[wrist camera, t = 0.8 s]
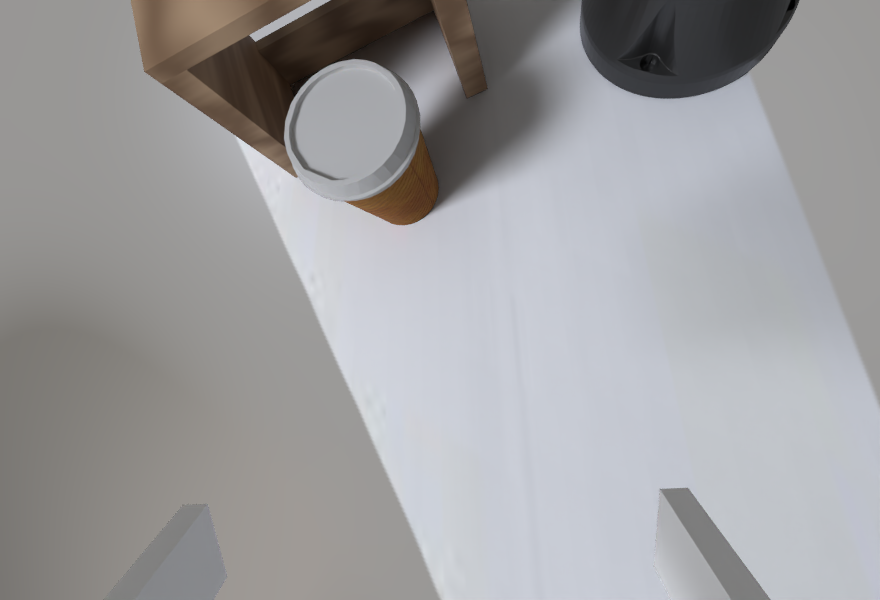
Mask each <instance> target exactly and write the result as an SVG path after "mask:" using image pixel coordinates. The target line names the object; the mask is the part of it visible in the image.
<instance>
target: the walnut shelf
mask: <svg viewBox="0 0 880 600" xmlns="http://www.w3.org/2000/svg"><path fill="white" fill-rule="evenodd" d="M309 1H311V0H131V4H132V9H133V14H134V20H135V25H136V30H137V35H138V41H139V46H140V51H141V56H142V62H143V67H144V72H146V73H147V74H148V75H150V76H151V77H153V78H154V79H156V80H157V81H158V82H160V83H161V84H163V85H164V86H165V87H167V88H168V89H170V90H171V91H173V92H174V93H176V94H177V95H178V96H180V97H181V98H183V99H184V100H186V101H187V102H188V103H190V104H191V105H193V106H194V107H196V108H197V109H198V110H200V111H201V112H203V113H204V114H206V115H207V116H209V117H210V118H211V119H213V120H214V121H216V122H217V123H219V124H220V125H221V126H223V127H224V128H226V129H227V130H228V131H230V132H231V133H233V134H234V135H236V136H237V137H238V138H240V139H241V140H243V141H244V142H246V143H247V144H248V145H250V146H251V147H253V148H254V149H256V150H257V151H258V152H260V153H261V154H263V155H264V156H266V157H267V158H268V159H270V160H271V161H273V162H274V163H276V164H277V165H279V166H280V167H281V168H283V169H284V170H286V171H287V172H289V173H290V174H291V175H293V176H294V177H296V178H297V177H298V176H297V174H296V172H295V170H294V168H293V166H292V163H291V160H290V158H289V156H288V154H287V151H286V146H285V141H284V132H285V120H286V117H287V114H288V111H289V108H290V105H291V103H292V101H293V99H294V96H293V93H292V89H291V84H293V83H294V82H296V81H298V80H300V79H302V78H304V77H306V76H308V75H310V74H312V73H314V72H316V71H318V70H320V69H322V68H323V67H325V66H327V65H329V64H331V63H333V62H335V61H337V60H339V59H341V58H343V57H345V56H347V55H349V54H350V53H352V52H354V51H356V50H358V49H360V48H362V47H364V46H366V45H368V44H370V43H372V42H374V41H376V40H377V39H379V38H381V37H383V36H385V35H387V34H389V33H391V32H393V31H395V30H397V29H399V28H401V27H403V26H404V25H406V24H408V23H410V22H412V21H414V20H416V19H418V18H420V17H422V16H424V15H426V14H428V13H430V12H432V11H433V10H434V12H435V15H436V18H437V20H438V23H439V26H440V28H441V31H442V34H443V36H444V39H445V42H446V44H447V47H448V50H449V52H450V55H451V58H452V60H453V63H454V66H455V68H456V71H457V74H458V76H459V79H460V82H461V84H462V87H463V90H464V92H465V95H466V98H469V97H471V96H473V95H475V94H477V93H479V92H482V91H484V90H486V89H488V88H487V83H486V79H485V75H484V71H483V67H482V63H481V59H480V55H479V51H478V46H477V42H476V38H475V34H474V30H473V26H472V22H471V18H470V14H469V10H468V5H467V1H466V0H331V1H329V2H327V3H325V4H323V5H322V6H320V7H318V8H316V9H314V10H313V11H311V12H309V13H307V14H305V15H304V16H302V17H300V18H298V19H297V20H295V21H293V22H291V23H289V24H287V25H285V26H284V27H282V28H280V29H278V30H276V31H275V32H273V33H271V34H269V35H268V36H265V37H264V38H262V39H260V40H258V41H257V42H255V41H254V40H253V39H252V38H251V37H250V36H249V35H250V34H252V33H253V32H255V31H257V30H258V29H261V28H262V27H264V26H266V25H268V24H270V23H271V22H273V21H275V20H277V19H278V18H280V17H282V16H284V15H286V14H287V13H289V12H291V11H293V10H295V9H296V8H298V7H300V6H302V5H303V4H305V3H307V2H309Z"/></svg>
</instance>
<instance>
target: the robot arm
mask: <svg viewBox="0 0 880 600" xmlns="http://www.w3.org/2000/svg"><path fill="white" fill-rule="evenodd" d="M798 3H799V0H582V4H581V16H580V34H581V40H582V44H583V47H584V50H585V52H586V54H587V56H588V58H589V60H590V61H591V63H592V64H593V66H594V67H595V68H596V69H597V70H598V72H599V73H600V74H601V75H603V76H604V77H605V78H606V79H607V80H609V81H610V82H612V83H613V84H615V85H616V86H618V87H620V88H622V89H624V90H626V91H629V92H632V93H635V94H638V95H642V96H647V97H653V98H683V97H690V96H696V95H700V94H704V93H707V92H710V91H713V90H715V89H718V88H720V87H723V86H725V85H727V84H729V83H731V82H733V81H734V80H736V79H738V78H739V77H741V76H742V75H744V74H745V73H747V72H748V71H749V70H751V69H752V68H753V67H754V66H755V65H756V64H757V63H758V62H759V61H761V60H762V59H763V58H764V56H765V55H766V54H767V53H768V51H769V50H770V49H771V48H772V46H773V45H774V44H775V42H776V40H777V39H778V38H779V36H780V35H781V34H782V32H783V31H784V29H785V28H786V26H787V24H788V23H789V22H790V20H791V18H792V16H793V14H794V12H795V10H796V8H797V5H798ZM654 568H655V570H656V572H657V574H658V576H659V578H660V580H661V582H662V584H663V586H664V588H665V590H666V592H667V594H668V596H669V598H670V600H770V598H769V597H768V596H767V594H766V593H765V592H764V590H763V589H762V588H761V586H760V585H759V583H758V582H757V581H756V579H755V578H754V577H753V575H752V574H751V573H750V571H749V570H748V569H747V567H746V566H745V564H744V563H743V562H742V560H741V559H740V558H739V556H738V555H737V554H736V552H735V551H734V550H733V548H732V547H731V546H730V544H729V543H728V541H727V540H726V539H725V537H724V536H723V535H722V533H721V532H720V531H719V529H718V528H717V527H716V525H715V524H714V523H713V521H712V520H711V518H710V517H709V516H708V514H707V513H706V512H705V510H704V509H703V508H702V506H701V505H700V504H699V502H698V501H697V499H696V498H695V497H694V495H693V494H692V493H691V491H690V490H689V489H688V488H675V489H660V493H659V506H658V518H657V531H656V544H655V556H654ZM226 578H227V573H226V569H225V566H224V562H223V558H222V555H221V551H220V547H219V544H218V540H217V536H216V533H215V529H214V525H213V522H212V518H211V514H210V511H209V507H208V504H192V505H182V507H181V508H180V509H179V510H178V511H177V513H176V514H175V515H174V516H173V517H172V519H171V520H170V521H169V522H168V523H167V525H166V526H165V527H164V528H163V529H162V531H161V532H160V533H159V534H158V535H157V537H156V538H155V539H154V540H153V541H152V543H151V544H150V545H149V546H148V547H147V548H146V550H145V551H144V552H143V553H142V554H141V556H140V557H139V558H138V559H137V560H136V562H135V563H134V564H133V565H132V566H131V567H130V569H129V570H128V571H127V572H126V574H125V575H124V576H123V577H122V578H121V579H120V581H119V582H118V583H117V584H116V585H115V586H114V588H113V589H112V590H111V591H110V593H109V594H108V595H107V596H106V597H105V598H104V600H214V598H215V597H216V595H217V593H218V591H219V590H220V588H221V586H222V584H223V583H224V581H225V579H226Z"/></svg>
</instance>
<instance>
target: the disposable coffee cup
mask: <svg viewBox="0 0 880 600" xmlns="http://www.w3.org/2000/svg"><path fill="white" fill-rule="evenodd" d="M284 141H285V146H286V151H287V154H288V156H289V158H290V160H291V163H292V166H293V168H294V170H295V172H296V174H297V176H298V178H299V179H300V180H301V181H302V182H303V184H304V185H305V186H306V187H307V188H309V189H310V190H311V191H313V192H314V193H316V194H318V195H320V196H322V197H324V198H327V199H331V200H334V201H345V202H347V203H349V204H351V205H354V206H356V207H358V208H360V209H362V210H364V211H366V212H369V213H371V214H373V215H375V216H377V217H379V218H382V219H384V220H386V221H388V222H390V223H392V224H396V225H408V224H412V223H415V222H417V221H419V220H420V219H422V218H423V217H425V216H426V215H427V214H428V213H429V212H430V210H431V209H432V208H433V206H434V204H435V202H436V200H437V196H438V189H439V187H438V180H437V177H436V174H435V171H434V168H433V165H432V162H431V159H430V156H429V153H428V150H427V147H426V145H425V141H424V138H423V135H422V132H421V130H420V112H419V108H418V104H417V100H416V98H415V96H414V94H413V92H412V90H411V89H410V87H409V86H408V84H407V83H406V82H405V81H404V80H403V79H402V78H401V77H400V76H398V75H397V74H396V73H394V72H392V71H390V70H388V69H385V68H384V67H382V66H380V65H379V64H377V63H375V62H371V61H367V60H359V59H352V60H346V61H340V62H337V63H334V64H331V65H329V66H327V67H325V68H324V69H322V70H320V71H319V72H318V73H316V74H315V75H313V76H312V77H311V78H310V79H309V80H308V81H307V82H306V83H305V84H304V85H303V86H302V87H301V88H300V90H299V91H298V93H297V95H296V96H295V98H294V99H293V101H292V103H291V105H290V108H289V111H288V114H287V117H286V120H285V132H284Z"/></svg>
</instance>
